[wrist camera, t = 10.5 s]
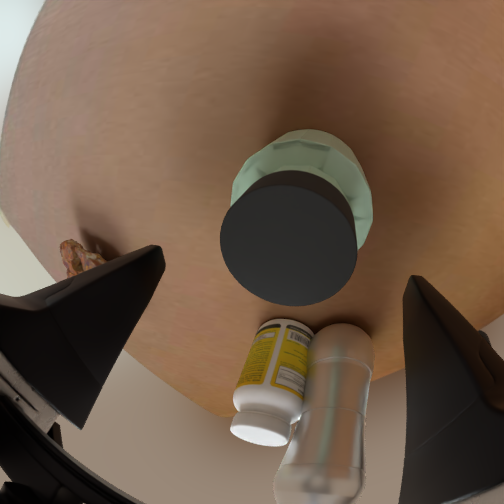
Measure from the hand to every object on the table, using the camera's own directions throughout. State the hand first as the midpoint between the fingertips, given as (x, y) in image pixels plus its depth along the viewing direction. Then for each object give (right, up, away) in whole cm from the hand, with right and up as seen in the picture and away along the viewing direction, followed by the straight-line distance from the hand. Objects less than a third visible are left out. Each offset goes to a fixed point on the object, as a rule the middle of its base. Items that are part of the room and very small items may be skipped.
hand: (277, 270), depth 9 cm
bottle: (+3, +5, +9) cm, 11 cm away
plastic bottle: (+8, -8, +15) cm, 19 cm away
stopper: (+2, +3, +5) cm, 6 cm away
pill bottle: (+3, -8, +17) cm, 19 cm away
